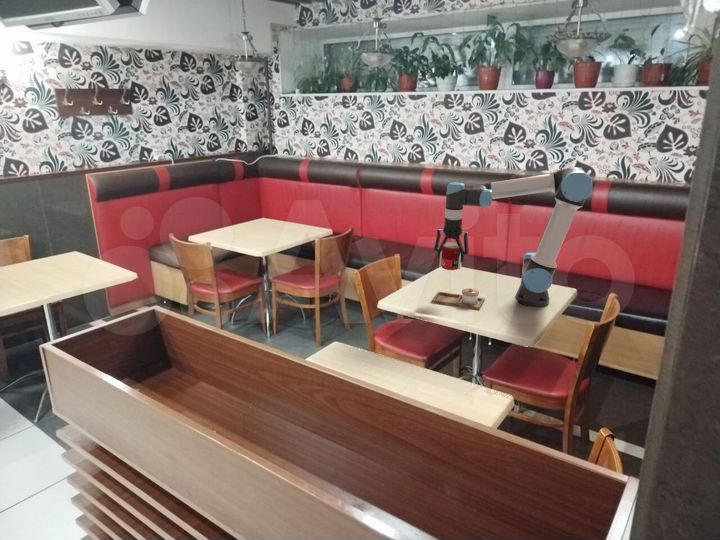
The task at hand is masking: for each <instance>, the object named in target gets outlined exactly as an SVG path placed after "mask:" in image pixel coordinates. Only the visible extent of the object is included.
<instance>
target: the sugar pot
mask: <svg viewBox="0 0 720 540" xmlns="http://www.w3.org/2000/svg"><path fill="white" fill-rule="evenodd" d="M479 294H480V291H479V290H478V289H475V288H472V287H471V288H470V287H468V288H463V289H462V290H461V295H462V304H467V305H474V306H476V305H477V303H478V297H479Z"/></svg>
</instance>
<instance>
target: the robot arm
mask: <svg viewBox="0 0 720 540" xmlns="http://www.w3.org/2000/svg"><path fill="white" fill-rule="evenodd" d="M592 191H593V178H592V177H591V175H590V174H588V173H587V172H586V171H585V170H584V169H583V168H581V167H577V166H571V167H567V168H566V167H565V168H561V169H556V170H552V171H550V173H545V174H539V175H534V176H525V177H520V178H513V179H507V180H499V181H494V182H486V183H483V182H479V183H476V184H475V185H474V186H472V188H469V187H468V188H467V187H466V186H465V183H463V182H457V181H456V182H450V183H448V184H447V186H446V193H445V194H446V195H445V197H446V198H445V210H444V211H445V212H444V217H445V218H444V227H443V228H442V229H441V228H439V229H437V230H436V234H437V236H436V240H435V244H434V248H433V250H434V252H435V251H436V252H437V259H438V260H439V265H438V267H440V268H442V249H443V244H445V243H446V242H447V241H448V239H449V240H455V243H457V245H458V246H459V247H460V248H459V250H460V255H459V264H458V269H457V270H461V269H462V263H463V262H464V261H465V255H468V254H469V253H470V252H469V251H470V250H469V242H468V235H469V232H468V231H464V230H463V229H462V226H463V212H464V206H468V207H479V208H480V207H481V208H486V207H487V208H490V207H491V206H492V200H496V199H504V198H510V197H517V196H526V195H534V194H540V193H546V192H552V193H553V194H555V195H554V200H555V202H556V203H555V205H554V209H553V210H552V213H551V215H550V218H549V221H548V224H547V225H546V228H545V230H544V232H543V235H542V236H541V240H540V242H539V245H538V247H537V249H536V252H525V253H524V256H523V258H522V259H523V260H522V261H523V262H522V271H521V280H520V285H519V287H518V289H517V290H516V292H515V293H516V294H515V299H516V300H517V303H519V304H522V305H525V306H527V307H528V306H529V307H544V306H548V304H550V295H549V289H550V288H551V286H552V284H553V282H554V281H553V277H554V274H555V272H556V270H557V267H558V265H557V262H556V260H557V258H558V255H559V253H560V251H561V248H562V246H563V243H564V241H565V239H566V236H567V235H568V232H569V230H570V227H571V225H572V223H573V220H574V217H575V215H576V213H577V211H578V210H579V209H580V208H583V207H584V204H585V201H586V200H587V198H588V197H589V196H590V195H591V193H592ZM442 234H444V235H445V236H444V238H443V240H442V242H441V237H442ZM461 235H462V238H463V244H462V241H461V237H460V236H461ZM440 242H441V244H440ZM439 245H440V246H439Z"/></svg>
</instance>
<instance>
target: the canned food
mask: <svg viewBox="0 0 720 540" xmlns="http://www.w3.org/2000/svg"><path fill="white" fill-rule="evenodd" d="M459 248H460V247H459V246H458V245H457V242H454V241H453V242H452V241H450V242H449V241H448V242H447V241H446V243H445V244H443V249H442V251H441V252H442V266H441V268H442V269H444V270H446V271H447V270H448V271H455V270H456V271H457V270H459V269H458V264H459V255H460V254H461V253H460V250H459Z"/></svg>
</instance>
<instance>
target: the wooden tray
mask: <svg viewBox="0 0 720 540" xmlns="http://www.w3.org/2000/svg"><path fill="white" fill-rule="evenodd" d="M485 301H486V298H485V297H479V296H478V303H477V305H476V306H474V305H467V304H462V294H460V293H459V294H457V293H452V292H444V291H437V293H436V294H435V295H434V296H433V298H432V299H431V303H432V304H433V303H434V304H440V305H446V306H452V307H459V308H464V309H471V310H476V311H477V310H479V311H480V310H481V309H482V306H483V304H484V303H485Z"/></svg>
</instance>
